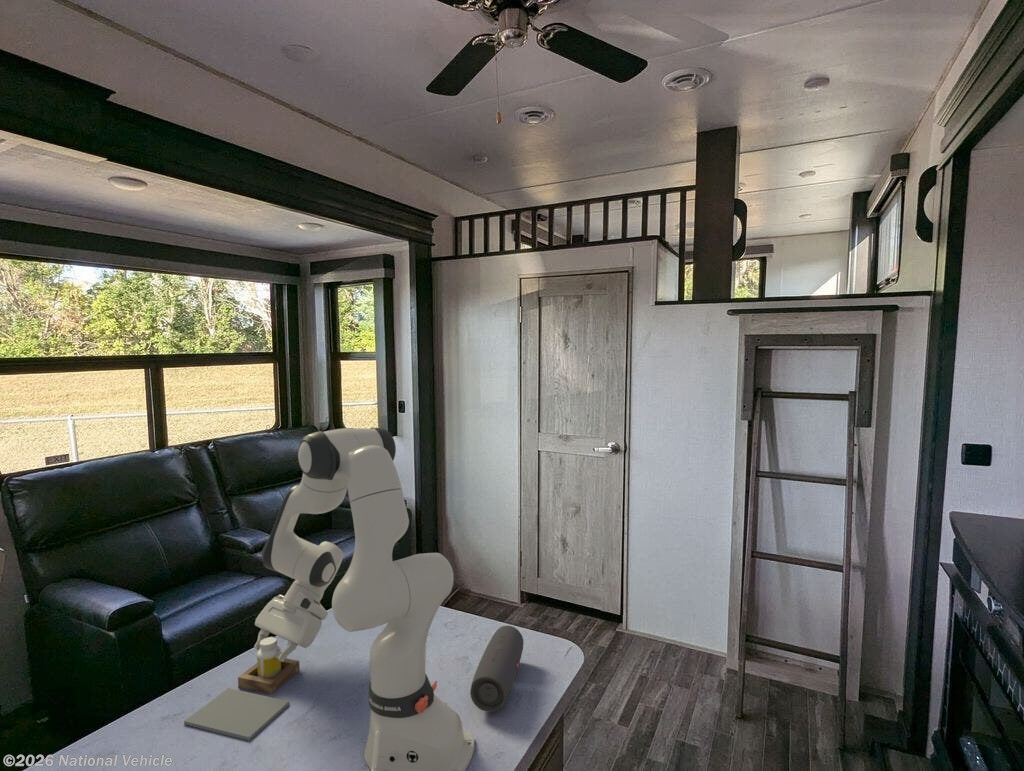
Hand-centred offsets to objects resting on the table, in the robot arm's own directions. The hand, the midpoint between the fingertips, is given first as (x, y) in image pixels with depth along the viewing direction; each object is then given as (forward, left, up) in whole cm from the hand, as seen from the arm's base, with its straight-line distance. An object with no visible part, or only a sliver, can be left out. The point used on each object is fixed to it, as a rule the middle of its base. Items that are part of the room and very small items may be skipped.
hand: (267, 655), depth 130 cm
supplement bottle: (0, 0, -6) cm, 6 cm away
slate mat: (-3, +13, -6) cm, 15 cm away
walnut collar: (0, 0, -6) cm, 6 cm away
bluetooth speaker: (-58, -13, -6) cm, 59 cm away
